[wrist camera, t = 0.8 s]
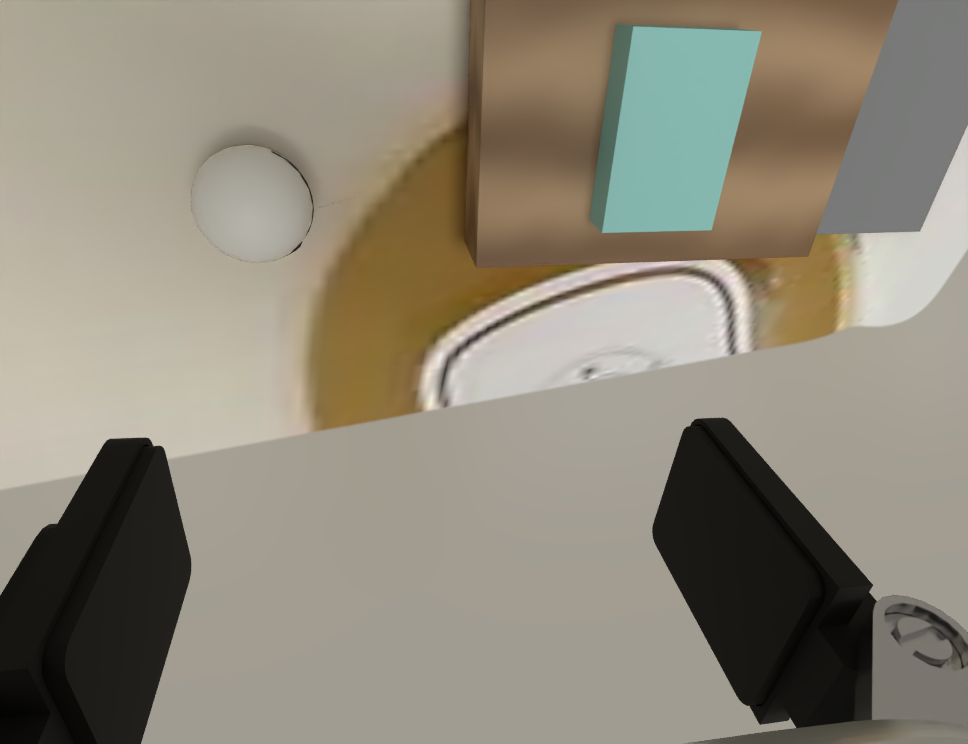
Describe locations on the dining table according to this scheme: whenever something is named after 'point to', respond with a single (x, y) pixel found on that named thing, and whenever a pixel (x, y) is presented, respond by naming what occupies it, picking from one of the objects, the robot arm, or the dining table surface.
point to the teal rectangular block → (669, 125)
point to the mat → (905, 123)
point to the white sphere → (252, 203)
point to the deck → (580, 109)
